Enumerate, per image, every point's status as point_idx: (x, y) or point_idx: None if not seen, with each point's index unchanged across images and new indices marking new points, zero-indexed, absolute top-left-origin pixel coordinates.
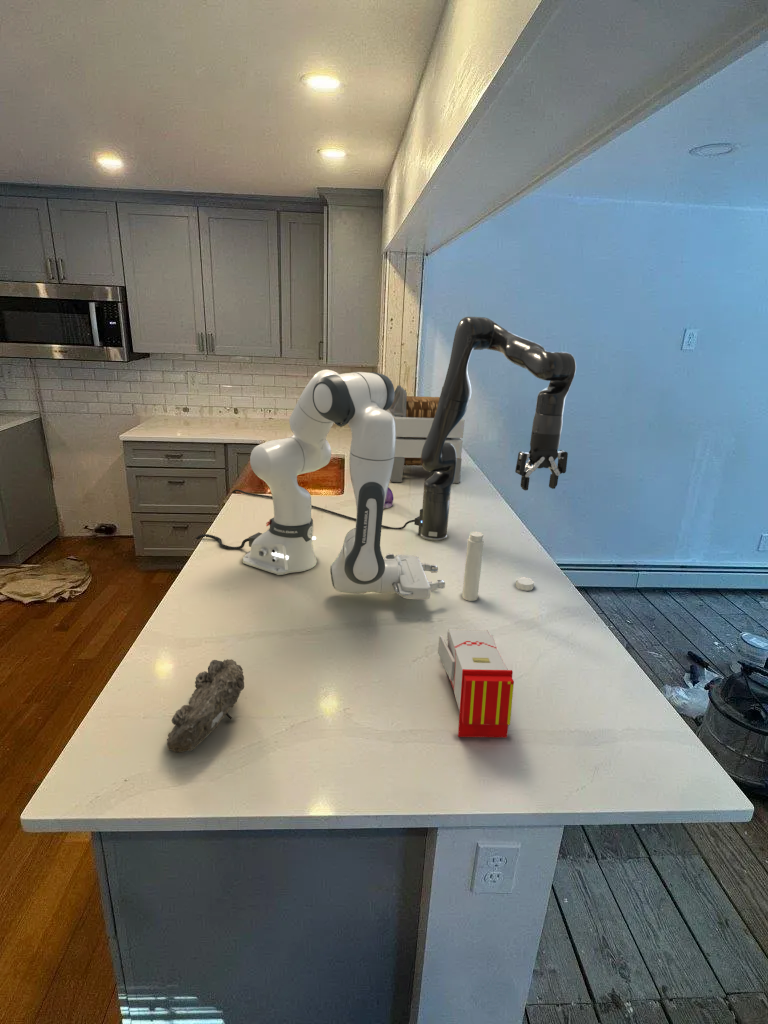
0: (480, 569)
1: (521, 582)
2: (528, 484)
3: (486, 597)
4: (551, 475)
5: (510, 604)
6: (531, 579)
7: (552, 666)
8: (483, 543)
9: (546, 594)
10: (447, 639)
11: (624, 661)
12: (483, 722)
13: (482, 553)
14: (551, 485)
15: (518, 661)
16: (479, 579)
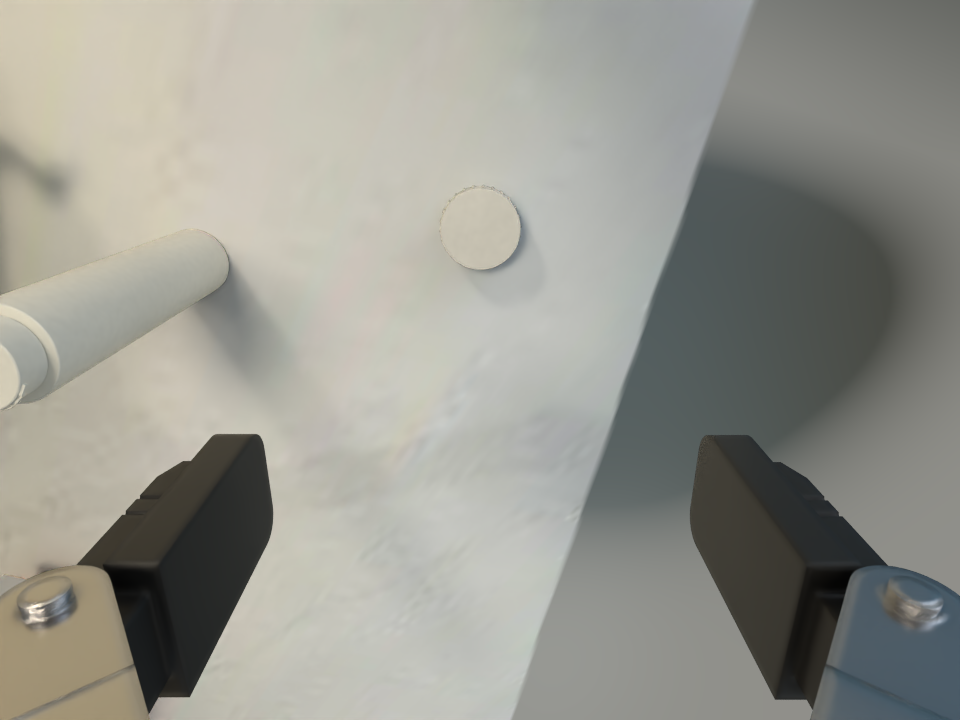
0: (155, 326)
1: (453, 241)
2: (237, 594)
3: (269, 277)
4: (787, 587)
5: (345, 349)
6: (518, 222)
7: (314, 655)
8: (65, 379)
9: (536, 309)
10: (2, 577)
11: (520, 675)
12: None
13: (109, 350)
14: (707, 509)
15: (231, 623)
16: (183, 307)
